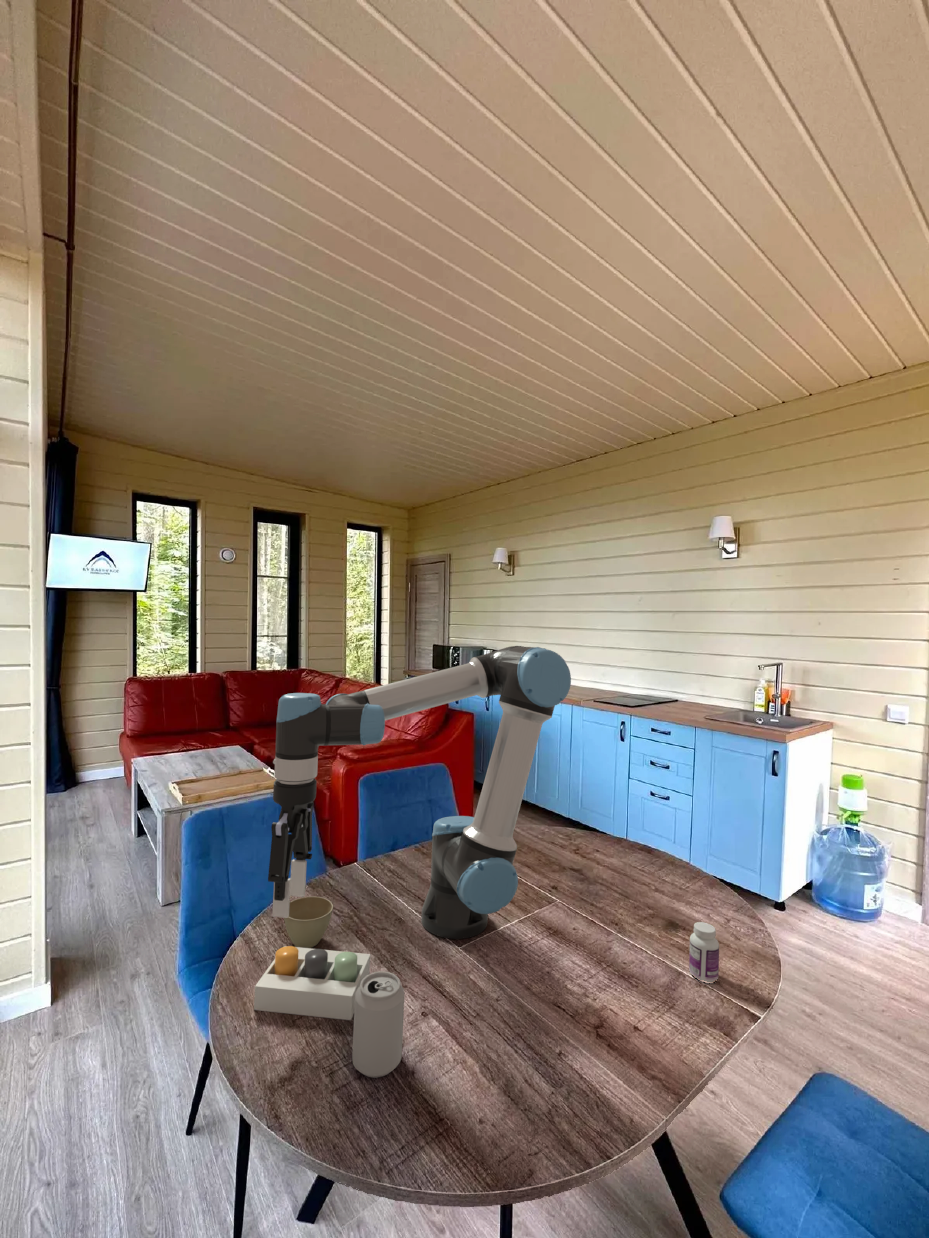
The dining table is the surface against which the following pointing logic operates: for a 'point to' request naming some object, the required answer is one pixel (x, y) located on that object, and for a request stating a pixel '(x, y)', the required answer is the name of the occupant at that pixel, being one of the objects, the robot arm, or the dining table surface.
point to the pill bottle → (704, 952)
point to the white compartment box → (310, 990)
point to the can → (378, 1024)
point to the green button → (345, 967)
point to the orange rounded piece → (286, 961)
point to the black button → (316, 964)
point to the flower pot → (308, 920)
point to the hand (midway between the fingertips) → (289, 905)
